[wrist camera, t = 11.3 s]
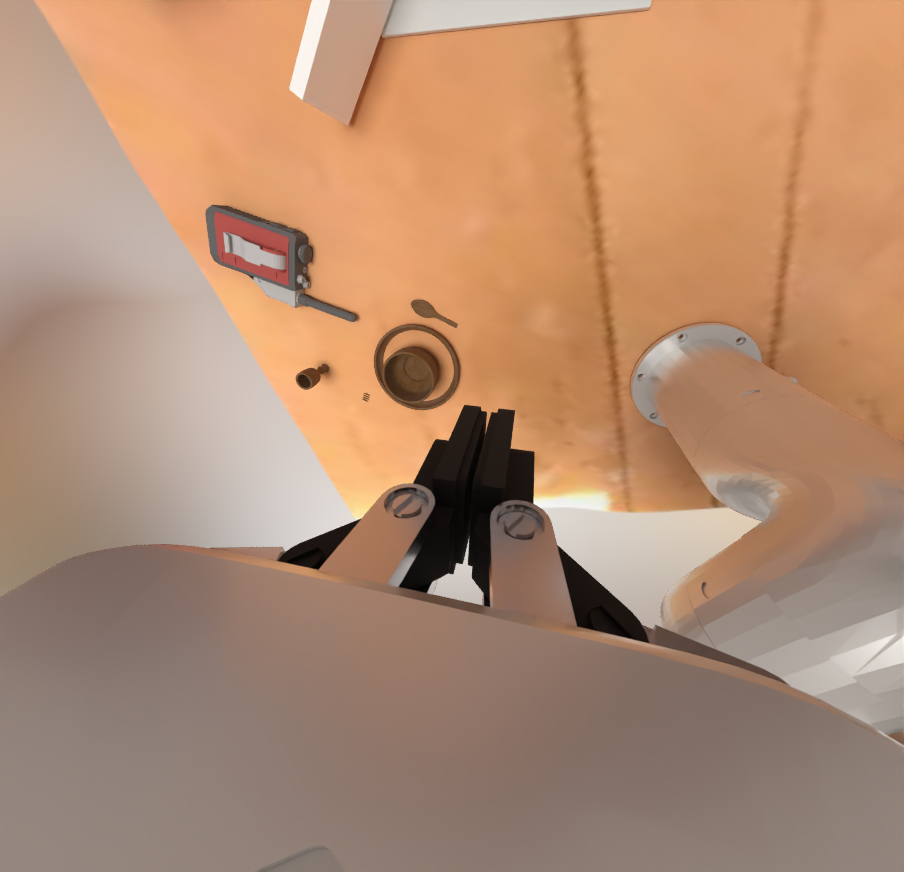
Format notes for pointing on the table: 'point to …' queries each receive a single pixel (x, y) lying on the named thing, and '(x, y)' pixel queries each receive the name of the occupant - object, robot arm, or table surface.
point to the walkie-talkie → (265, 255)
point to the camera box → (492, 13)
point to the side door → (337, 53)
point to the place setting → (403, 367)
